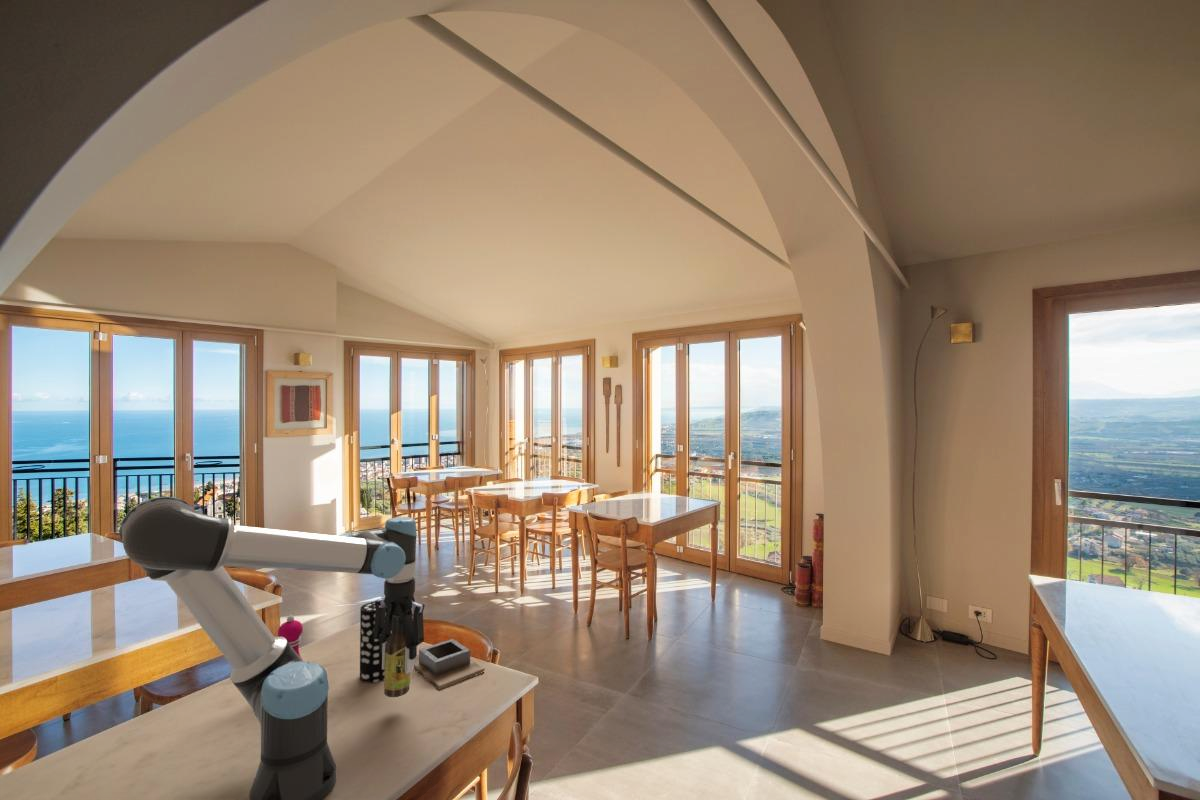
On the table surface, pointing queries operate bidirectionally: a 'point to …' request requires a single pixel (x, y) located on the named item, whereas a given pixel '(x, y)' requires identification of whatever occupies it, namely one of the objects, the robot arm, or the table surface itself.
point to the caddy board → (449, 674)
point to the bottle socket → (444, 657)
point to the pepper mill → (291, 632)
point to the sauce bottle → (396, 661)
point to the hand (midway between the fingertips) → (397, 669)
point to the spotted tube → (369, 646)
